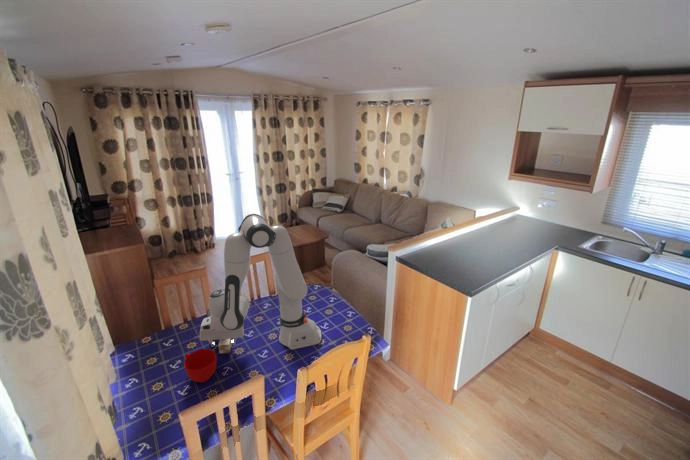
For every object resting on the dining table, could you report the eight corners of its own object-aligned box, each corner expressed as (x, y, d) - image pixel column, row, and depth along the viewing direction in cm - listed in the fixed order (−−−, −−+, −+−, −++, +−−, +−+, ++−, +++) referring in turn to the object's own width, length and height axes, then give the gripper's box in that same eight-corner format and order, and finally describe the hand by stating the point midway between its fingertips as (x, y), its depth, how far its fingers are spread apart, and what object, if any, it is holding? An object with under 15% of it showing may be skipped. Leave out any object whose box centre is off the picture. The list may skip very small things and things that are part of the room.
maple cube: (231, 345, 162) (230, 337, 161) (230, 352, 158) (228, 344, 156) (221, 346, 162) (220, 338, 160) (219, 353, 157) (218, 345, 155)
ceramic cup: (200, 358, 153) (197, 341, 150) (225, 373, 146) (222, 355, 142) (175, 376, 143) (171, 359, 139) (200, 393, 135) (196, 374, 132)
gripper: (244, 316, 158) (246, 338, 162) (200, 319, 154) (203, 342, 159) (242, 323, 152) (244, 347, 157) (196, 327, 148) (200, 351, 153)
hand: (223, 344), depth 158 cm, fingers open, 8 cm apart
